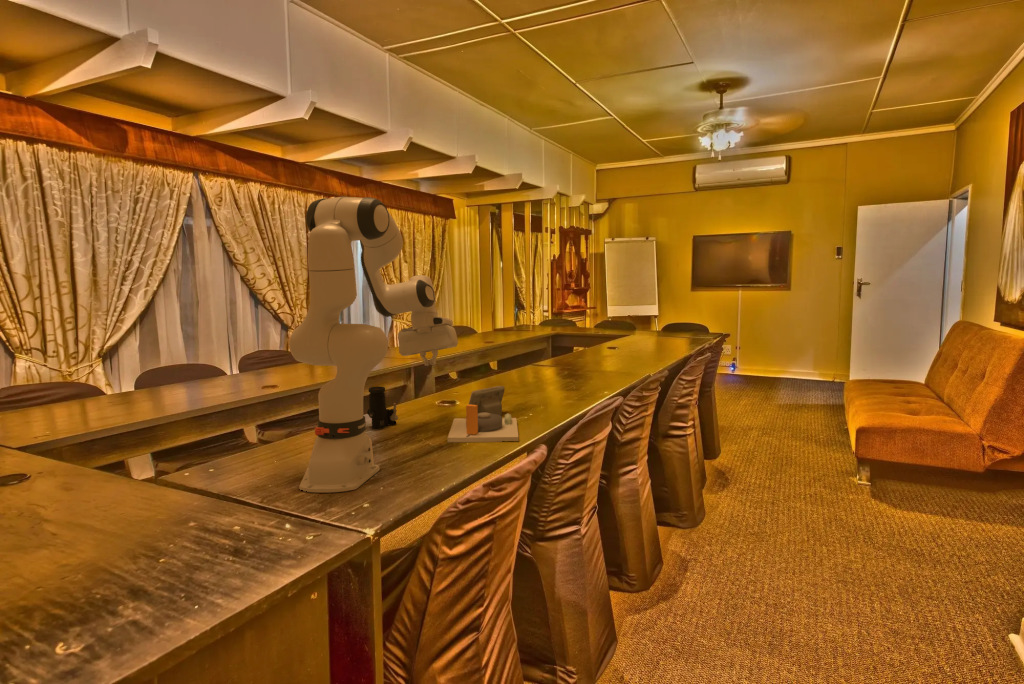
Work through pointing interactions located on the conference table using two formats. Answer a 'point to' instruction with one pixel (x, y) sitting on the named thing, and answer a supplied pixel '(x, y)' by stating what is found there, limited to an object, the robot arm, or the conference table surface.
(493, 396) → the digital clock
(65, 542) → the conference table surface
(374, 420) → the scope
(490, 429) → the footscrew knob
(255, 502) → the conference table surface
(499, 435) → the base
